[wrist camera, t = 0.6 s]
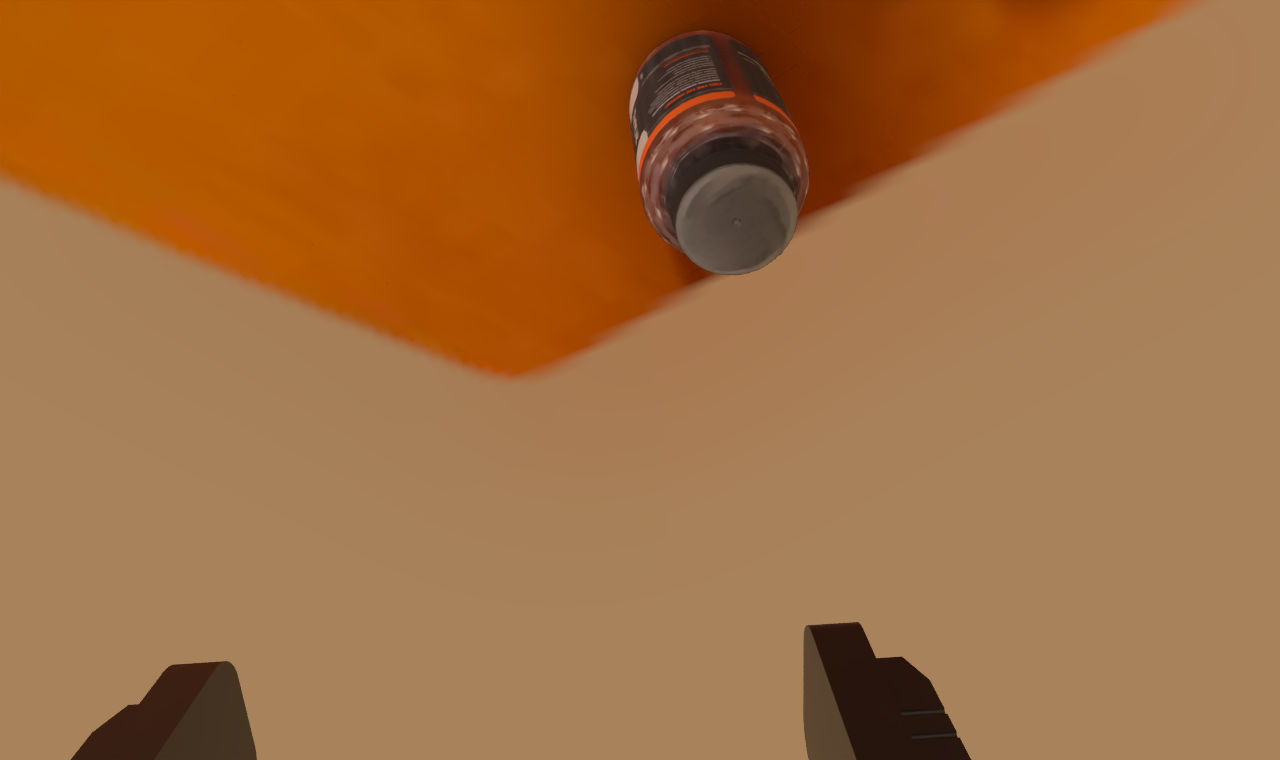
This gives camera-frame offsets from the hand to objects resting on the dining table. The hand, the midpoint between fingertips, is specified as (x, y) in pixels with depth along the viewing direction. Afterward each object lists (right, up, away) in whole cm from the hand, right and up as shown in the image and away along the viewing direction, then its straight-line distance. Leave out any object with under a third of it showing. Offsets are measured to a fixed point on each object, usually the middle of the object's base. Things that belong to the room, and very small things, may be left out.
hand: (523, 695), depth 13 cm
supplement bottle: (+4, +16, +25) cm, 30 cm away
